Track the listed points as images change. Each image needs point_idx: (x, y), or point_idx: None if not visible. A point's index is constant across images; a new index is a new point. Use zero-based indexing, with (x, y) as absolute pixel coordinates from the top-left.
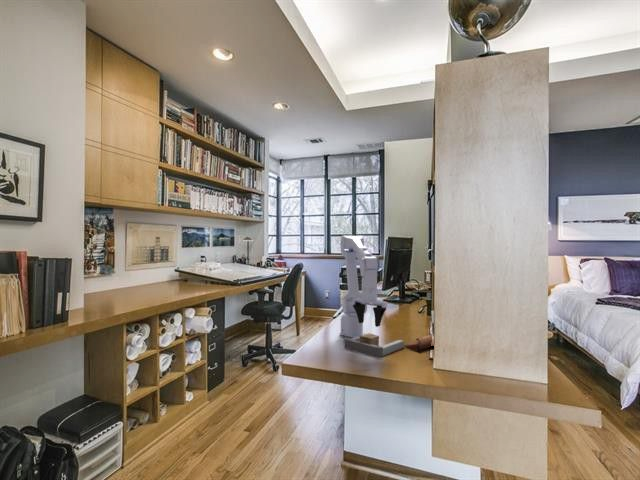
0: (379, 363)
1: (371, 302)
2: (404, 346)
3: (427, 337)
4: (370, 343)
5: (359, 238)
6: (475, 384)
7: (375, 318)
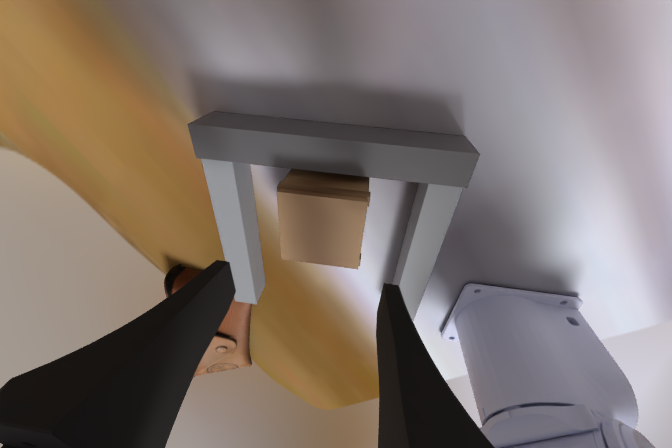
0: (133, 6)
1: None
2: None
3: None
4: (288, 176)
5: None
6: None
7: (177, 307)
